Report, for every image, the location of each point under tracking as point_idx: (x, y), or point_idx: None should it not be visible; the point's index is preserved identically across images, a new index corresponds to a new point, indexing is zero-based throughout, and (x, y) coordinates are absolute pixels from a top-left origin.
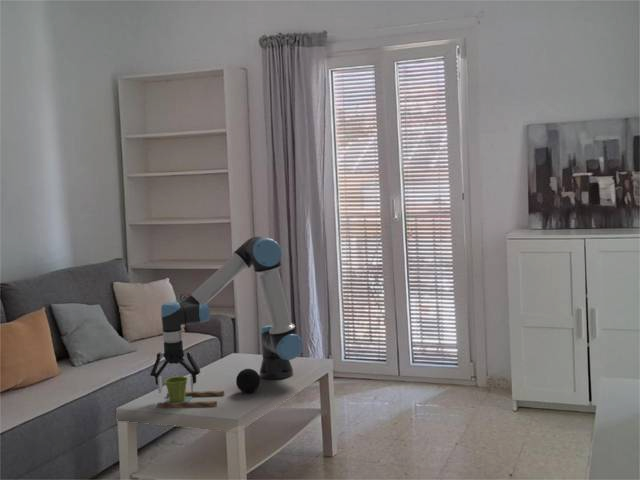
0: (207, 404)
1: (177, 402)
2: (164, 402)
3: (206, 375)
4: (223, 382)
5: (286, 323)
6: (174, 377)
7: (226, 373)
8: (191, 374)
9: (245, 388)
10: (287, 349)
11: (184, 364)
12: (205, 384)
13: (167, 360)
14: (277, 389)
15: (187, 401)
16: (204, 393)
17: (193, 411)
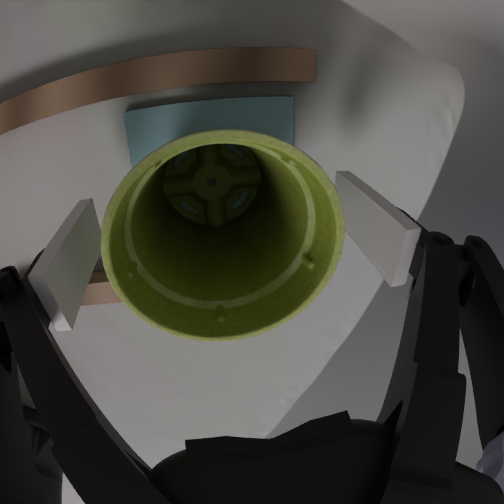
0: None
1: (169, 80)
2: (287, 137)
3: (225, 433)
4: (130, 403)
5: None
6: (272, 324)
7: (173, 443)
8: (25, 294)
9: None
10: None
11: (55, 415)
12: (185, 391)
13: (429, 450)
14: None
15: (133, 161)
16: (89, 281)
17: (40, 10)
